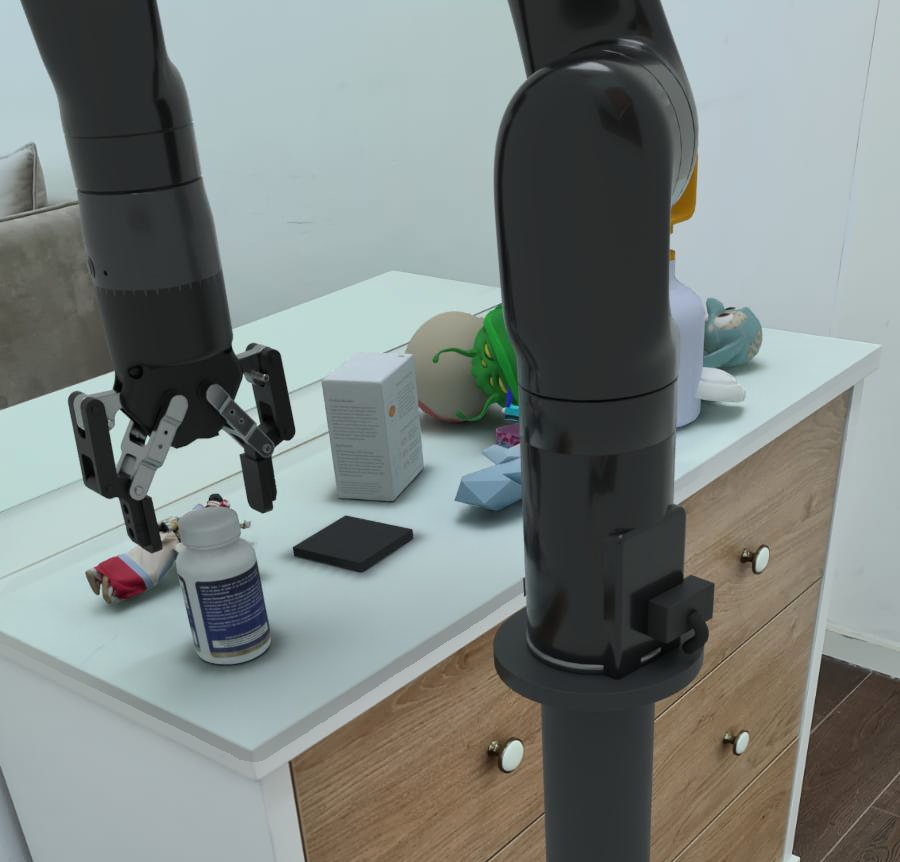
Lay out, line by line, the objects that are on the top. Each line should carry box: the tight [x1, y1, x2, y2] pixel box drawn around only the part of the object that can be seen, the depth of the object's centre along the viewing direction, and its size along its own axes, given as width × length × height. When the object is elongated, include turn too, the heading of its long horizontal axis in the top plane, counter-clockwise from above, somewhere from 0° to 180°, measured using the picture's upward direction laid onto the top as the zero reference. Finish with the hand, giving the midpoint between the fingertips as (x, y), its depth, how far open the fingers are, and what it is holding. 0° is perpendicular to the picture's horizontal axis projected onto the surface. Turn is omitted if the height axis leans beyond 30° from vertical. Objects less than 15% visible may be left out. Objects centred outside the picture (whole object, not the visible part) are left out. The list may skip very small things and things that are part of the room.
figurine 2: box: [432, 303, 519, 422], centre depth 108 cm, size 13×15×10 cm
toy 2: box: [404, 310, 490, 423], centre depth 116 cm, size 10×12×10 cm
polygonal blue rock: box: [453, 443, 522, 512], centre depth 99 cm, size 13×7×5 cm, turn 135°
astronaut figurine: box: [695, 367, 747, 403], centre depth 115 cm, size 9×12×3 cm
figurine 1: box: [84, 493, 252, 606], centre depth 93 cm, size 6×8×15 cm
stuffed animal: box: [703, 297, 763, 369], centre depth 125 cm, size 11×7×12 cm
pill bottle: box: [175, 507, 272, 665], centre depth 80 cm, size 5×5×10 cm
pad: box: [292, 514, 414, 573], centre depth 95 cm, size 7×7×1 cm
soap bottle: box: [669, 149, 706, 429], centre depth 107 cm, size 9×9×25 cm
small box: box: [321, 351, 425, 502], centre depth 103 cm, size 8×6×10 cm
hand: (207, 528), depth 78 cm, fingers open, 8 cm apart
